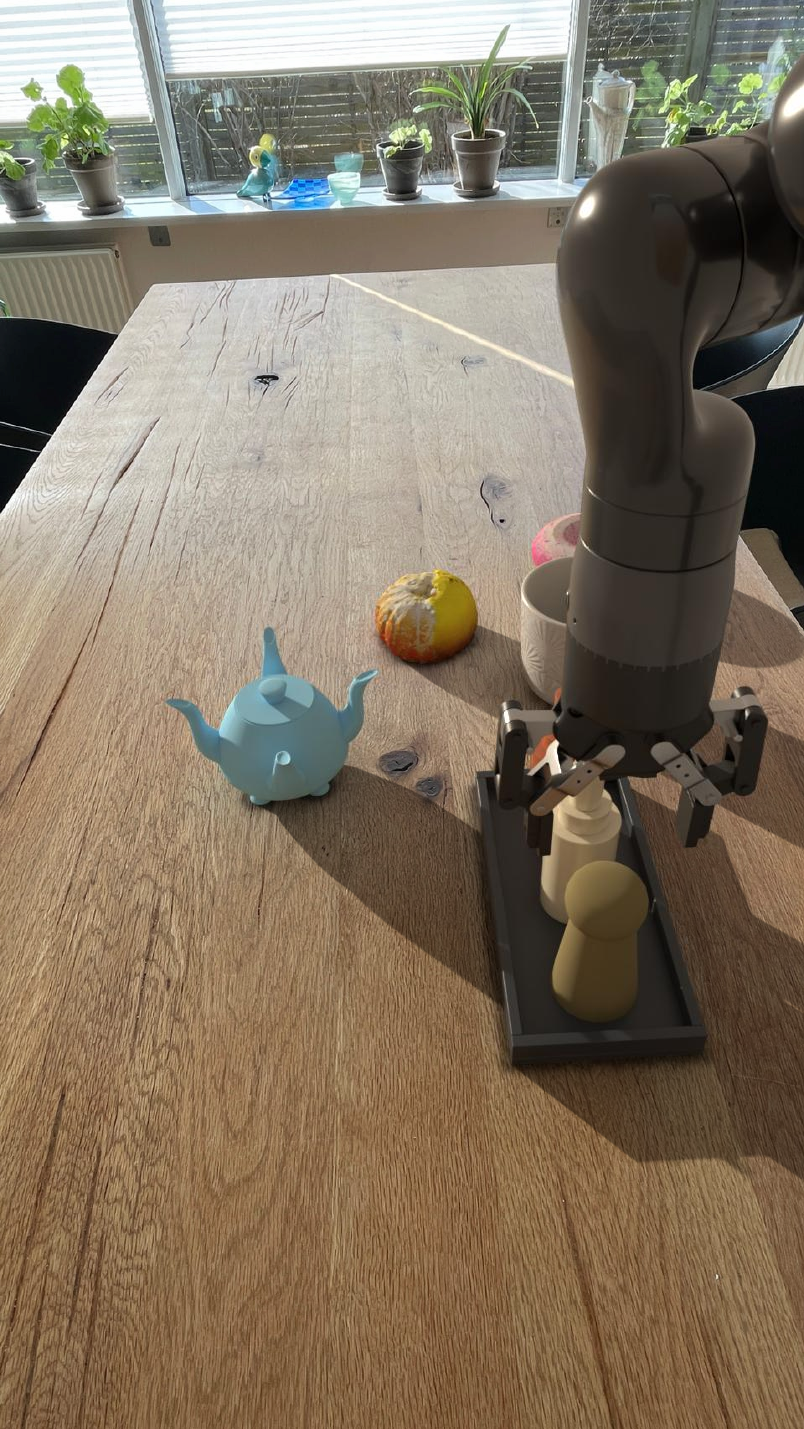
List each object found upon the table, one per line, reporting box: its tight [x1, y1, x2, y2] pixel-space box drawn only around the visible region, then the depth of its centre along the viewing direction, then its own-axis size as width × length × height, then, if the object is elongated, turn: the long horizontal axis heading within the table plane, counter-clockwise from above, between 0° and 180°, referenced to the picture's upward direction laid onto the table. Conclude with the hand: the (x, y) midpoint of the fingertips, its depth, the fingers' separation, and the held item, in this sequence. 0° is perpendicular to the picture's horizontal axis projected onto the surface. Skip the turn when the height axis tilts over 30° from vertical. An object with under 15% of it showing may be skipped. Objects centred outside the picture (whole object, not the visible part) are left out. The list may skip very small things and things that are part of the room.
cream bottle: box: [540, 760, 622, 924], centre depth 67 cm, size 5×5×14 cm
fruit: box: [374, 568, 479, 665], centre depth 98 cm, size 11×10×8 cm
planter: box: [520, 556, 574, 707], centre depth 89 cm, size 12×12×11 cm
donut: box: [531, 511, 581, 568], centre depth 106 cm, size 14×13×5 cm
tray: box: [474, 767, 708, 1066], centre depth 72 cm, size 26×13×2 cm, turn 2°
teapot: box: [165, 626, 378, 806], centre depth 81 cm, size 13×13×10 cm
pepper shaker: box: [550, 861, 649, 1023], centre depth 63 cm, size 6×6×11 cm
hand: (613, 841), depth 56 cm, fingers open, 8 cm apart
